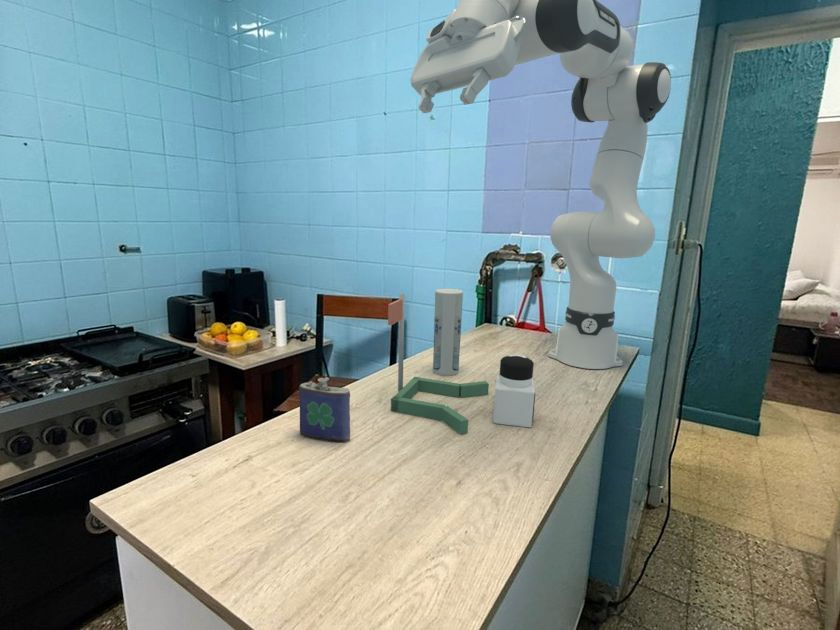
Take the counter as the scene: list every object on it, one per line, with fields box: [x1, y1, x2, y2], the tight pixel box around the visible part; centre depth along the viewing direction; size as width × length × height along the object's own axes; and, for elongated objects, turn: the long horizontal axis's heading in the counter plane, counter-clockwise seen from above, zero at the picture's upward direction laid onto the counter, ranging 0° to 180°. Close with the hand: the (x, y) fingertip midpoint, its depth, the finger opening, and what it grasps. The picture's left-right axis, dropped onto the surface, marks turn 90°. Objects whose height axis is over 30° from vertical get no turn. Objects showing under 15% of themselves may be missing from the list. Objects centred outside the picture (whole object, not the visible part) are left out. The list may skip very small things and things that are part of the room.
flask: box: [298, 376, 351, 443], centre depth 74 cm, size 9×3×11 cm, turn 74°
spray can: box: [432, 288, 464, 377], centre depth 106 cm, size 6×6×20 cm
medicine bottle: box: [492, 354, 536, 429], centre depth 83 cm, size 7×7×12 cm
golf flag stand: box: [387, 292, 490, 435], centre depth 87 cm, size 21×17×22 cm
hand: (443, 106), depth 70 cm, fingers open, 8 cm apart
